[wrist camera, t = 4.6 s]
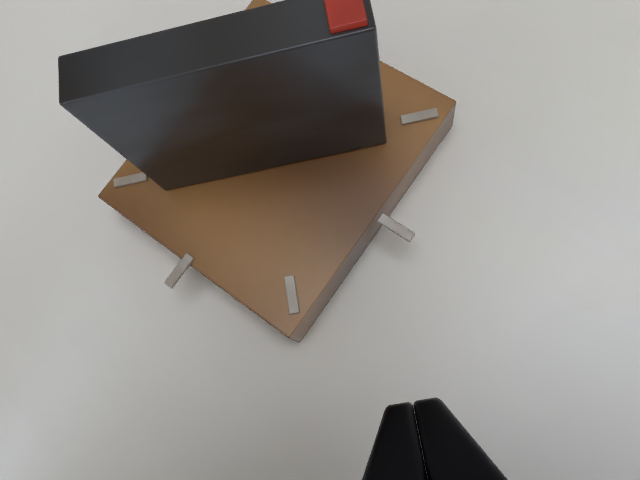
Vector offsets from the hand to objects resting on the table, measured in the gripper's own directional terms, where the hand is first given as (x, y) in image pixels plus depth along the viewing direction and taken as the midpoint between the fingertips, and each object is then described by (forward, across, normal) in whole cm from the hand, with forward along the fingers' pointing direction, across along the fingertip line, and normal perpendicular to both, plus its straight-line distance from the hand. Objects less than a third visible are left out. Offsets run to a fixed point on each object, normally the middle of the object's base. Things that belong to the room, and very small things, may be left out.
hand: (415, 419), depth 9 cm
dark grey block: (+15, +4, 0) cm, 15 cm away
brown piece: (+16, +4, +1) cm, 16 cm away
